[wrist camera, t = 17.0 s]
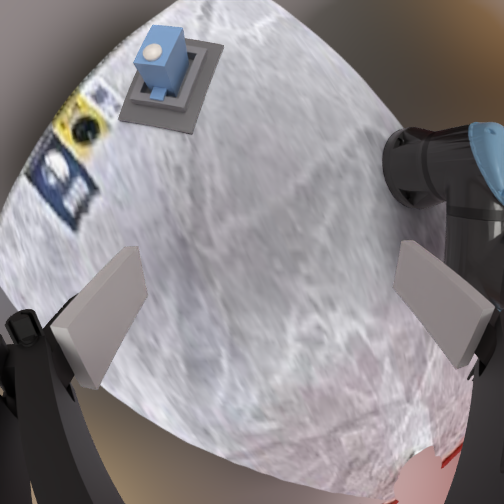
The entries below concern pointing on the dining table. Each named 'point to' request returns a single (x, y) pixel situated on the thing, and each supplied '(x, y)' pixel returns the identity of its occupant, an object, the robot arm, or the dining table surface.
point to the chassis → (189, 96)
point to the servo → (163, 61)
